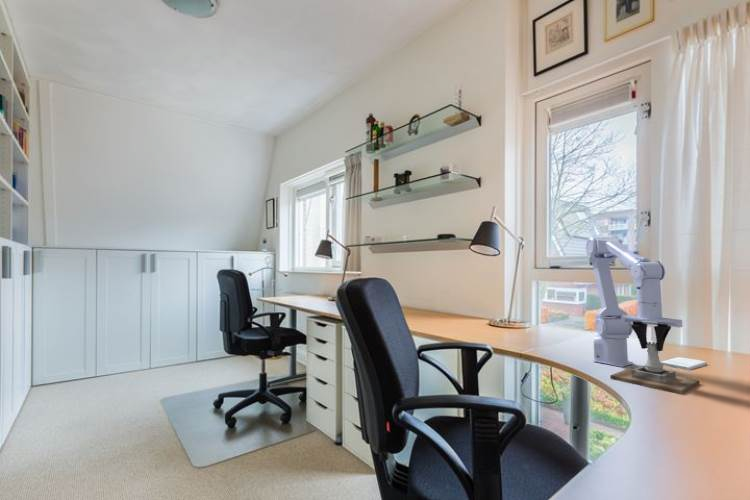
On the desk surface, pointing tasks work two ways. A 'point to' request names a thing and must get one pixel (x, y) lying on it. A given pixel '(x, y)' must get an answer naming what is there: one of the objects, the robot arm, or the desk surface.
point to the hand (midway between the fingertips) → (651, 349)
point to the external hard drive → (684, 363)
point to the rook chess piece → (653, 359)
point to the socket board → (656, 379)
